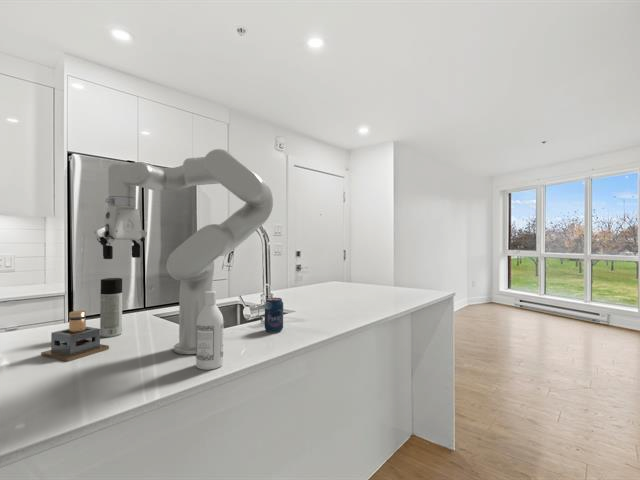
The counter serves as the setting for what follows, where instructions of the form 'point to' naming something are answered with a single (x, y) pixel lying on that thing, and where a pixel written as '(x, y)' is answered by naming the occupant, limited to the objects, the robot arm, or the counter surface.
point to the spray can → (111, 307)
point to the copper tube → (77, 323)
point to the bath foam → (209, 334)
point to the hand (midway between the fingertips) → (122, 258)
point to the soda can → (273, 315)
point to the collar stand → (74, 344)
